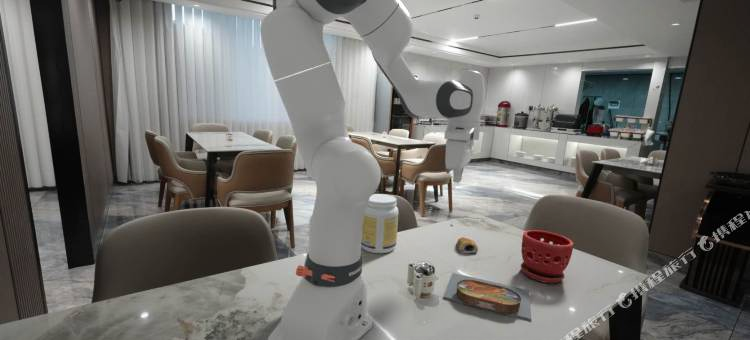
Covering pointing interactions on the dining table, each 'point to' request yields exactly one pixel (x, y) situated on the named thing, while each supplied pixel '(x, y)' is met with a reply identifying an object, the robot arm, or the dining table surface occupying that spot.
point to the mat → (524, 308)
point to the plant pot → (545, 255)
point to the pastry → (467, 245)
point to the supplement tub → (380, 224)
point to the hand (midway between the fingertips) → (457, 181)
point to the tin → (488, 296)
